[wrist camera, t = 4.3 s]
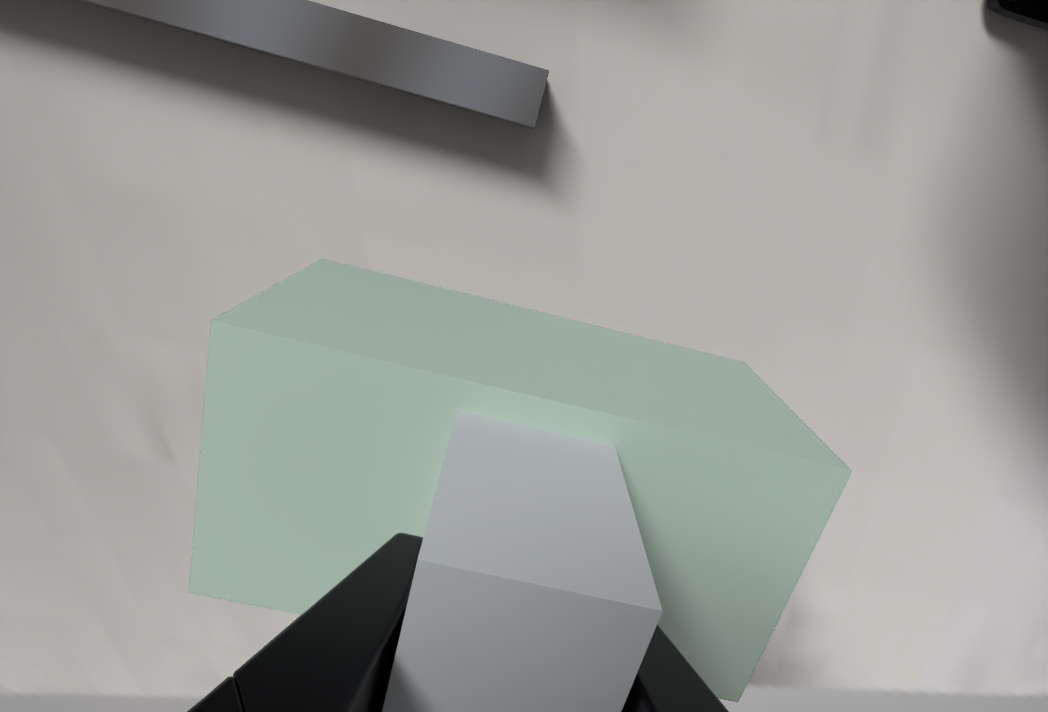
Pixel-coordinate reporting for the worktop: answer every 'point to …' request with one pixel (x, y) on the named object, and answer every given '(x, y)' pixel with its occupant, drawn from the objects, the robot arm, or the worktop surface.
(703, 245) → the worktop surface
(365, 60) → the brown and gray bars
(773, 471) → the mint block with post
